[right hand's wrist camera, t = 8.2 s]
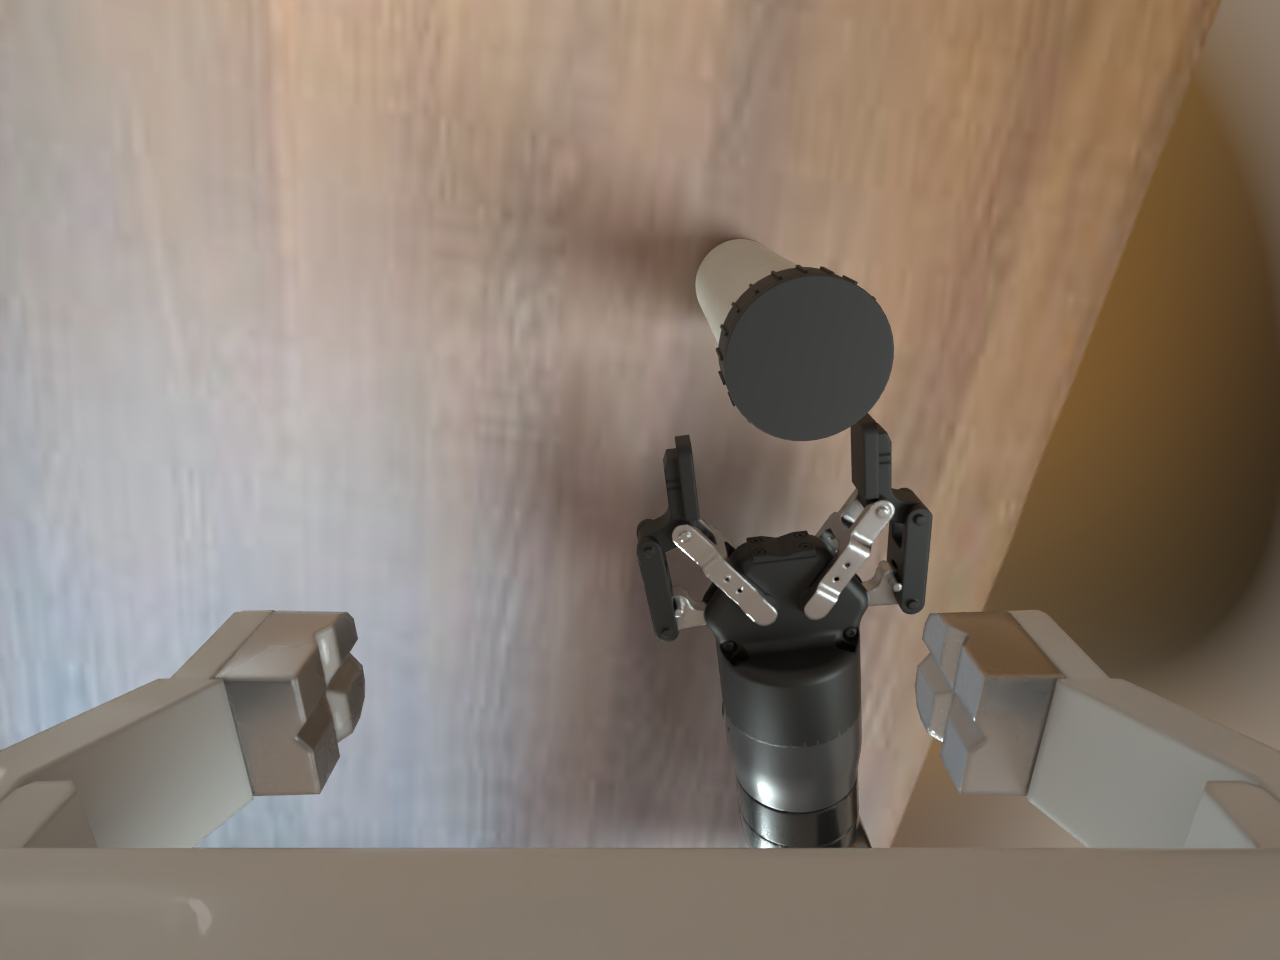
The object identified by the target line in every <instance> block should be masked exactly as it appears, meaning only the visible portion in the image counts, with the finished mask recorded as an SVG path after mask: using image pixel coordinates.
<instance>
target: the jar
mask: <svg viewBox="0 0 1280 960" xmlns="http://www.w3.org/2000/svg"><path fill="white" fill-rule="evenodd" d="M789 268H796V264H794V263H793V262H791V261H789V260H787V259H786V258H784V257H782V256H780V255H779V254H777V253H775V252H774V251H772V250H770V249H768V248H767V247H765V246H763V245H761V244H760V243H757V242H755V241H752V240H747V239H734V240H730V241H726V242H724V243H721V244H720V245H718V246H716V247H715V248H714V249H712V250H711V251H710V252H709V253H708V254H707V255H706V257H705V258H704V259H703V261H702V263H701V264H700V267H699V269H698V272H697V276H696V284H695V287H696V295H697V299H698V302H699V304H700V306H701V308H702V310H703V312H704V314H705V317H706V319H707V321H708V323H709V325H710V327H711V329H712V331H713V333H714V335H715V338H716V340H717V342H718V344H719V339H720V334H721V328H720V325H721V324H724V321H725V319H726V317H727V315H728V313H729V311H730V309H731V308H732V305H731V304H732V302H734V303H735V302H736V301H737V300H738V298H739V297H740V296H741V295H742V294H743V293H744V292H745V291H746V290H747V289H748V288H749V284H751V283H752V284H755V283H756V282H757V281H759V280H761V279H762V278H764V277H766V276H768V275H770V274H771V271H773V270H774V271H775V272H778V271H781V270H785V269H789Z"/></svg>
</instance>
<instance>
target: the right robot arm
mask: <svg viewBox="0 0 1280 960" xmlns="http://www.w3.org/2000/svg"><path fill="white" fill-rule="evenodd" d="M357 639H358V637H357V632H356V628H355V623H354V619H353V618H352V616H351V615H350V614H349V613H348V612H317V611H274V610H258V611H240V612H235V613H234V614H233V615H232V616H231V617H230V618H229V619H228V620H227V621H226V622H225V623H224V624H223V625H222V626H221V627H220V628H219V629H218V630H217V631H216V632H215V633H214V634H213V635H212V636H211V637H210V638H209V639H208V640H207V641H206V642H205V643H204V644H203V645H202V646H201V647H200V649H199V650H198V651H197V652H196V653H195V654H194V655H193V656H192V657H191V658H190V659H189V660H188V661H187V662H186V663H185V664H184V665H183V666H182V667H181V668H180V669H179V670H178V671H177V672H176V673H175V674H174V675H173V676H172V677H171V678H170V679H157V680H154V681H152V682H150V683H148V684H146V685H144V686H141V687H139V688H137V689H135V690H133V691H130V692H128V693H126V694H124V695H122V696H119V697H117V698H115V699H113V700H111V701H108V702H106V703H104V704H102V705H100V706H97V707H95V708H93V709H91V710H89V711H86V712H84V713H82V714H80V715H78V716H75V717H73V718H71V719H69V720H67V721H64V722H62V723H60V724H58V725H56V726H53V727H51V728H49V729H47V730H45V731H42V732H40V733H38V734H36V735H34V736H32V737H29V738H27V739H25V740H23V741H21V742H18V743H16V744H14V745H12V746H10V747H7V748H5V749H3V750H1V751H0V960H1280V751H1279V750H1277V749H1274V748H1272V747H1270V746H1268V745H1266V744H1264V743H1261V742H1259V741H1257V740H1255V739H1253V738H1250V737H1248V736H1246V735H1244V734H1242V733H1239V732H1237V731H1235V730H1233V729H1231V728H1228V727H1226V726H1224V725H1222V724H1220V723H1217V722H1215V721H1213V720H1211V719H1209V718H1207V717H1204V716H1202V715H1200V714H1198V713H1195V712H1193V711H1191V710H1189V709H1187V708H1185V707H1182V706H1180V705H1178V704H1176V703H1174V702H1171V701H1169V700H1167V699H1165V698H1163V697H1160V696H1158V695H1156V694H1154V693H1152V692H1150V691H1147V690H1145V689H1143V688H1141V687H1139V686H1136V685H1134V684H1132V683H1130V682H1128V681H1125V680H1123V679H1110V678H1109V677H1108V676H1107V675H1106V674H1105V673H1104V672H1103V671H1102V670H1101V669H1100V668H1099V667H1098V666H1097V665H1096V664H1095V663H1094V662H1093V661H1092V660H1091V659H1090V658H1089V657H1088V656H1087V655H1086V654H1085V653H1084V651H1083V650H1082V649H1081V648H1080V647H1079V646H1078V645H1077V644H1076V643H1075V642H1074V641H1073V640H1072V639H1071V638H1070V637H1069V636H1068V635H1067V634H1066V633H1065V632H1064V631H1063V630H1062V629H1061V628H1060V627H1059V626H1058V625H1057V624H1056V623H1055V622H1054V621H1053V620H1052V619H1051V618H1050V616H1049V615H1047V614H1046V613H1044V612H1041V611H1039V610H1024V611H1000V612H960V613H930V614H929V616H928V618H927V620H926V622H925V626H924V632H923V637H922V639H923V641H924V643H925V644H926V646H927V648H928V649H929V651H930V653H929V655H928V656H927V657H926V658H925V659H924V660H923V661H922V662H921V663H920V664H919V665H918V666H917V674H916V682H915V692H916V704H917V708H918V712H919V715H920V718H921V721H922V723H923V725H924V727H925V729H926V731H927V733H929V734H930V735H932V736H933V737H935V738H936V739H938V740H939V741H941V742H942V743H943V744H942V749H941V755H940V757H941V759H942V761H943V763H944V765H945V766H946V768H947V770H948V772H949V774H950V776H951V778H952V779H953V781H954V783H955V785H956V787H957V789H958V791H959V792H960V794H976V795H1011V796H1027V798H1026V799H1027V800H1028V801H1030V802H1031V803H1032V804H1033V805H1035V806H1036V807H1037V808H1038V809H1040V810H1041V811H1042V812H1043V813H1045V814H1046V815H1047V816H1048V817H1050V818H1051V819H1052V820H1054V821H1055V822H1056V823H1057V824H1058V825H1060V826H1061V827H1062V828H1064V829H1065V830H1066V831H1067V832H1069V833H1070V834H1071V835H1072V836H1074V837H1075V838H1076V839H1077V840H1079V841H1080V842H1081V843H1082V844H1084V845H1085V846H1086V847H1087V848H193V847H194V846H195V845H197V844H198V843H199V842H200V841H202V840H203V839H204V838H205V837H207V836H208V835H209V834H210V833H212V832H213V831H214V830H216V829H217V828H218V827H219V826H221V825H222V824H223V823H224V822H226V821H227V820H228V819H229V818H231V817H232V816H233V815H234V814H236V813H237V812H238V811H239V810H241V809H242V808H243V807H244V806H246V805H247V804H248V803H249V802H251V801H252V800H253V796H268V795H304V794H320V793H321V791H322V789H323V787H324V785H325V783H326V781H327V780H328V778H329V776H330V774H331V772H332V770H333V768H334V767H335V765H336V763H337V761H338V759H339V757H340V754H339V749H338V744H337V743H338V742H339V741H341V740H342V739H344V738H345V737H347V736H348V735H350V734H351V733H353V731H354V729H355V727H356V725H357V723H358V721H359V719H360V716H361V711H362V707H363V702H364V698H365V679H364V673H363V666H362V665H361V664H360V663H359V662H358V661H357V660H356V659H355V658H354V657H353V656H352V654H351V653H350V651H351V649H352V648H353V646H354V644H355V643H356V641H357Z"/></svg>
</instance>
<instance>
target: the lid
mask: <svg viewBox="0 0 1280 960" xmlns="http://www.w3.org/2000/svg"><path fill="white" fill-rule="evenodd" d="M857 283H858V282H856V281H854V280H852V279H850V278H848V277H846V276H844V275H843V277H840V276H838V275H836V274H834V272H833V271H831V270H829V269H827V268H825V267H822V266H821V267H820V269H818V268H811V267H802V266H800V265H796V268H789V269H785V270H781V271H778V272H775V271H774V270H773V271H771V274H770V275H768V276H766V277H764V278H762V279H761V280H759V281H757V282H756V283H755V284H752V283H751V284H749V288H748V289H747V290H746V291H745V292H744V293H743V294H742V295H741V296H740V297H739V298H738V300H737V301H736V302H735V303H734V302H732V304H731V305H732V308H731V309H730V311H729V313H728V315H727V317H726V319H725V321H724V324H721V325H720V328H721V334H720V339H719V348H716V352H717V354H718V357H719V365H720V370H721V371H718V372H719V375H720V377H721V380H722V382H723V385H725V384H726V386H727V389H728V391H729V392H728V395H729V397H730V400H731V402H732V404H733V406H736V407H737V408H738V410H739V411H740V413H741V414H742V415H743V416H744V417H745V418H746V419H747V420H748V422H749V423H751V424H753V425H754V426H755V427H756V428H758V429H760V430H761V431H763V432H765V433H767V434H769V435H772V436H774V437H778V438H781V439H785V440H792V441H810V440H817V439H822V438H826V437H829V436H832V435H835V434H837V433H839V432H841V431H843V430H845V429H847V428H849V427H850V426H852V425H853V424H855V423H856V422H857V421H859V420H860V419H861V418H862V417H864V416H865V415H866V414H867V413H868V411H869V410H870V409H871V408H872V407H873V406H874V405H875V403H876V402H877V401H878V399H879V398H880V396H881V394H882V392H883V391H884V389H885V387H886V384H887V382H888V380H889V377H890V373H891V370H892V364H893V358H894V344H893V335H892V331H891V328H890V324H889V322H888V320H887V317H886V315H885V313H884V312H883V310H882V308H881V307H880V305H879V304H878V303H877V302H876V299H875V297H873V296H871V295H870V294H869V293H867V292H866V291H865V290H864V289H862V288H861V287H859V286H858V285H857Z"/></svg>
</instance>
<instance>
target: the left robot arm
mask: <svg viewBox="0 0 1280 960" xmlns="http://www.w3.org/2000/svg"><path fill="white" fill-rule="evenodd" d="M675 442H676V448H673V449H666V452H665V455H664V459H663V462H664V472H665V479H666V487H667V494H668V502H669V507H668V510H667V512H666V513H665V514H664V515H663V516H661V517H659V518H657V519H655V520H651V519H646V520H643V521H641V522H640V523H639V524H638V526H637V538H638V544H637V556H638V560H639V564H640V569H641V573H642V578H643V582H644V586H645V591H646V595H647V600H648V604H649V608H650V613H651V617H652V622H653V626H654V630H655V635H656V637H657V638H658V639H659V640H660V641H663V642H670V641H673V640H675V639H676V638H677V636H678V633H679V631H678V630H680V629H686V628H692V627H698V626H703V625H707V626H708V627H709V628H710V629H711V631H712V632H713V633H714V635H715V637H716V646H717V654H718V663H719V672H720V681H721V690H722V698H723V704H722V714H723V717H724V719H725V724H726V734H727V740H728V745H729V749H730V753H731V756H732V759H733V763H734V767H735V775H736V784H737V793H738V802H739V810H740V817H741V824H742V828H743V831H744V835H745V837H746V840H747V842H748V844H749V846H750V848H872V847H871V844H870V842H869V839H868V836H867V834H866V831H865V829H864V826H863V823H862V821H861V818H860V816H859V795H858V763H859V757H860V751H861V741H862V721H861V671H860V631H859V625H860V621H861V618H862V616H863V614H864V612H865V611H866V609H867V607H868V606H877V605H892V604H899V606H900V608H901V609H902V611H903V612H905V613H907V614H915V613H918V612H919V611H921V610H922V608H923V607H924V603H925V593H926V582H927V571H928V561H929V550H930V539H931V528H932V514H931V512H930V511H929V510H928V509H927V507H926V506H925V505H924V504H923V503H922V502H921V501H920V499H919V498H918V497H917V496H916V495H915V494H914V492H913V491H912V490H910V489H908V488H901V489H898V490H897V489H893V488H891V440H890V438H889V436H888V434H887V432H886V431H885V430H884V429H883V428H882V427H881V426H880V425H879V424H878V423H876V421H875V420H874V419H873V418H872V417H871V416H870V415H869V414H868V413H867V414H866V415H865V416H864V417H862V418H861V419H860V420H859V421H857V422H856V423H855V424H853V425H852V426H851V462H852V482H853V484H854V485H855V487H856V489H855V490H854V492H853V493H852V494H851V496H850V497H849V498H848V500H847V501H846V502H845V504H844V505H843V506H842V508H841V509H840V510H839V511H838V512H834V513H832V514H831V515H830V516H829V518H828V519H827V521H826V522H825V523H824V525H823V526H822V527H821V529H820V530H819V531H818V533H817V534H816V535H815V536H813V535H809V534H808V532H807V531H799V532H792V533H789V534H786V535H783V536H781V537H778V538H774V537H765V536H758V537H750V538H747V542H746V543H744V544H742V545H740V546H739V547H736V546H735V545H734V544H733V543H732V542H731V541H730V540H729V539H727V538H726V537H725V536H724V535H723V534H722V533H721V532H720V531H719V530H718V529H717V528H715V527H711V526H710V525H709V524H708V523H707V522H706V521H704V520H703V519H702V518H701V517H700V516H699V508H698V499H697V491H696V482H695V473H694V464H693V456H692V448H691V442H690V438H689V435H684V436H676V437H675ZM888 522H889V535H888V550H887V561H884V560H883V561H880V562H879V564H878V567H877V569H876V572H875V575H874V577H873V578H872V579H870V580H869V581H866V582H862V581H861V579H860V578H859V576H858V575H857V574H856V572H857V571H858V570H859V568H860V567H861V566H862V565H863V563H864V562H865V561H866V559H867V558H868V557H869V555H870V552H871V545H872V543H873V541H874V540H875V539H876V538H877V536H878V535H879V534H880V532H881V531H882V530H883V529H884V527H885V526H886V525H887V523H888ZM677 546H678V547H679V548H680V549H682V550H683V551H684V552H685V553H686V554H687V555H688V556H689V557H690V558H691V559H693V560H694V561H695V562H696V563H697V564H698V565H699V566H700V568H701V570H702V571H703V573H704V574H705V575H706V576H707V577H708V578H709V579H710V580H711V581H712V582H713V583H712V584H711V586H710V587H709V589H708V590H707V592H706V593H705V595H704V597H703V601H695V600H693V599H691V598H690V596H689V594H688V592H687V590H686V589H684V588H682V587H680V586H678V585H675V586H673V587H672V583H671V578H670V574H669V569H668V564H667V559H666V554H665V552H666V551H668V550H671V549H673V548H675V547H677ZM837 549H838V550H837ZM836 550H837V552H835V551H836Z"/></svg>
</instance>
